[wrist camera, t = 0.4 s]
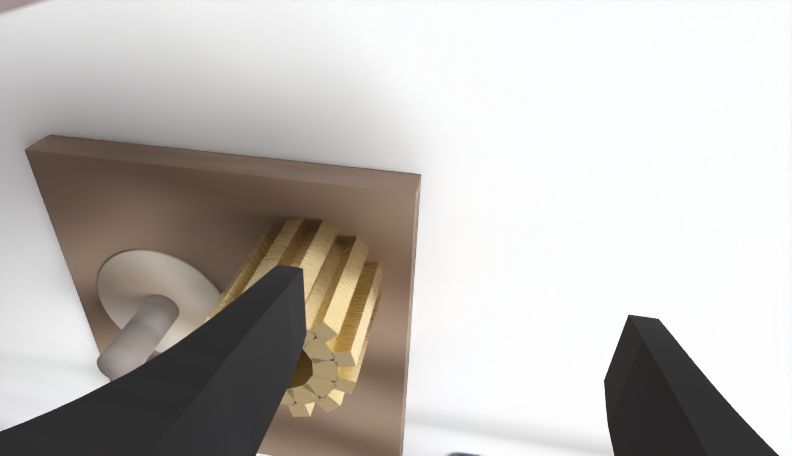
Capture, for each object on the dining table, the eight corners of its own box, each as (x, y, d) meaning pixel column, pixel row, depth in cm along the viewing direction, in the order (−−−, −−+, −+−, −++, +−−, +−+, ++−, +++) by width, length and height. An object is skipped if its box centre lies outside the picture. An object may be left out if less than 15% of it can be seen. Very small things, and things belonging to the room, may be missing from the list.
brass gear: (381, 333, 25) (356, 427, 20) (259, 316, 25) (211, 403, 21) (384, 226, 21) (355, 312, 17) (245, 210, 22) (185, 288, 18)
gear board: (402, 453, 32) (385, 551, 27) (142, 409, 33) (85, 494, 29) (421, 174, 22) (398, 256, 17) (50, 135, 23) (-60, 198, 19)
